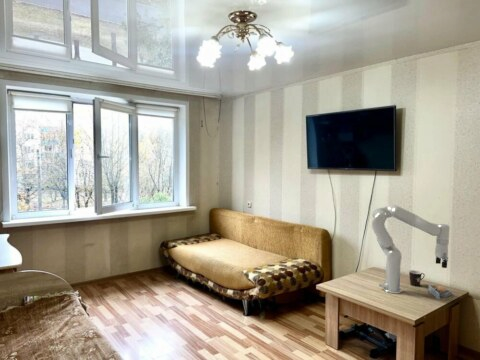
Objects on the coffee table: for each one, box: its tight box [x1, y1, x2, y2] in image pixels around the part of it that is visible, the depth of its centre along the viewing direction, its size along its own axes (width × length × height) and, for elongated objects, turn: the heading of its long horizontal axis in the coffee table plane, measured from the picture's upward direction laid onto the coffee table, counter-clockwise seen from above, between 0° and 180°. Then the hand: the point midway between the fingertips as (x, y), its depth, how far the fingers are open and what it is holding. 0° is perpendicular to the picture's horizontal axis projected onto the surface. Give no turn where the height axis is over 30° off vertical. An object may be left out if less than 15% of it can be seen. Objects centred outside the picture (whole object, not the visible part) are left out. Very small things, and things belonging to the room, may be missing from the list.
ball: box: [437, 285, 447, 293], centre depth 244 cm, size 5×5×5 cm
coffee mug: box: [408, 269, 425, 288], centre depth 261 cm, size 12×9×10 cm
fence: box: [427, 285, 441, 300], centre depth 243 cm, size 2×15×4 cm, turn 172°
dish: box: [430, 286, 453, 298], centre depth 244 cm, size 10×10×2 cm
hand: (441, 265), depth 244 cm, fingers open, 9 cm apart
